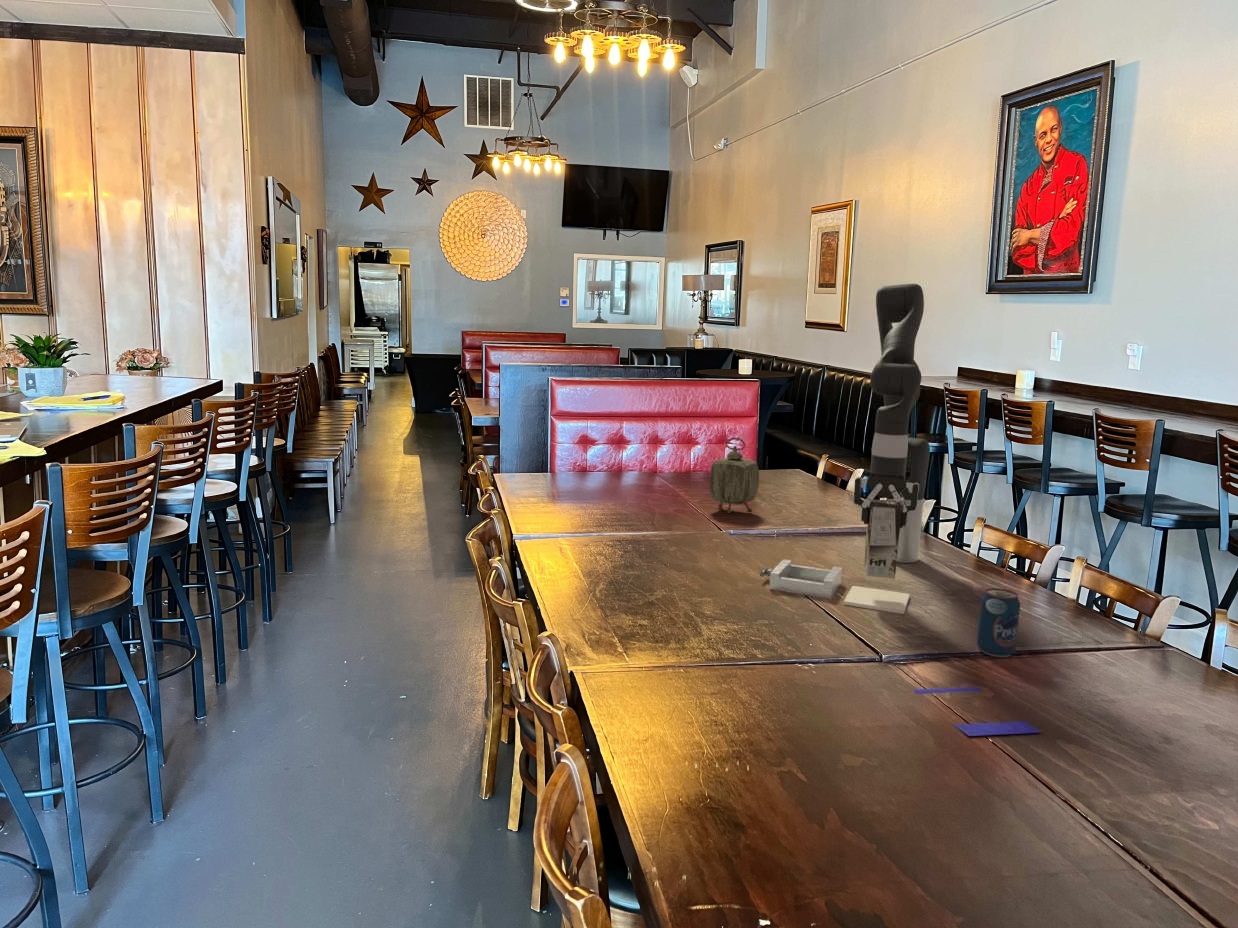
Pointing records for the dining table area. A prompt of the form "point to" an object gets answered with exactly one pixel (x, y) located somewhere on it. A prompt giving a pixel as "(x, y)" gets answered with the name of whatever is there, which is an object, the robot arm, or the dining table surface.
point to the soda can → (998, 622)
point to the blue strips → (984, 727)
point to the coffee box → (882, 538)
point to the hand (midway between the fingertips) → (883, 525)
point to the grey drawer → (804, 579)
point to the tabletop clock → (734, 479)
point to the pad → (877, 599)
